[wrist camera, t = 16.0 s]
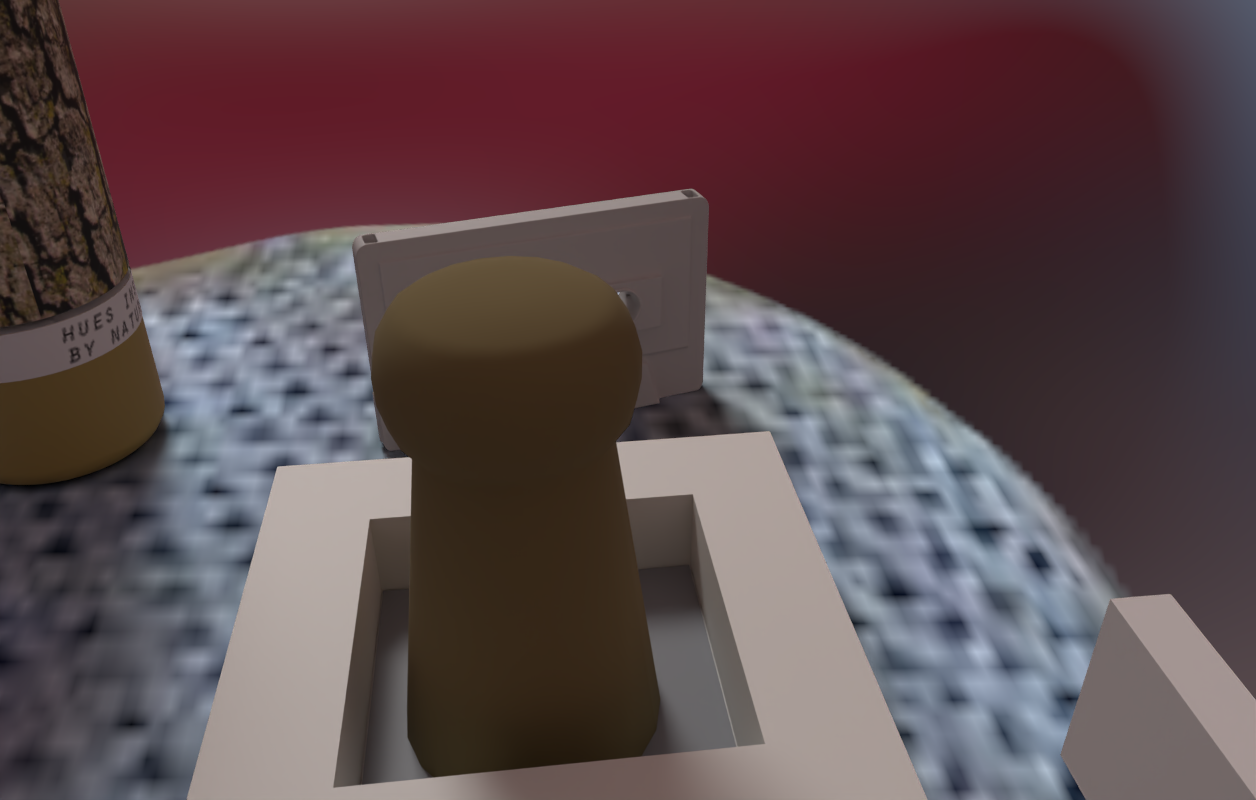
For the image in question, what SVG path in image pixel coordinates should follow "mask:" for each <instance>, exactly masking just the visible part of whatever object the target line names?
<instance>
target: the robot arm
mask: <svg viewBox="0 0 1256 800" xmlns="http://www.w3.org/2000/svg"><path fill="white" fill-rule="evenodd" d="M1060 755H1061V756H1062V758H1063V760H1064V762H1065V764H1066V765H1067V767H1068V769H1069V771H1070V772H1071V774H1072V776H1073V778H1074V779H1075V781H1076V783H1077V785H1078V786H1079V788H1080V790H1081V792H1082V793H1083V795H1084V797H1085V799H1086V800H1256V700H1255V699H1254V697H1253V696H1252V695H1251V694H1250V692H1249V691H1248V690H1247V689H1246V688H1245V686H1244V685H1243V684H1242V682H1241V681H1240V680H1239V679H1238V677H1237V676H1236V675H1235V674H1234V672H1233V671H1232V670H1231V669H1230V667H1229V666H1228V665H1227V664H1226V662H1225V661H1224V660H1223V659H1222V657H1220V655H1219V654H1218V653H1217V651H1216V650H1215V649H1214V648H1213V646H1212V645H1211V644H1210V643H1209V641H1208V640H1207V639H1206V638H1205V636H1204V635H1203V634H1202V633H1201V631H1200V630H1199V629H1198V628H1197V627H1196V625H1195V624H1194V623H1193V621H1192V620H1191V619H1190V618H1189V616H1188V615H1187V614H1186V613H1185V611H1184V610H1183V609H1182V608H1181V606H1180V605H1179V604H1178V603H1177V602H1176V600H1175V599H1174V598H1173V597H1172V595H1171V594H1165V595H1152V596H1142V597H1129V598H1117V599H1110V602H1109V605H1108V608H1107V611H1106V614H1105V617H1104V620H1103V623H1102V626H1101V630H1100V633H1099V636H1098V639H1097V642H1096V645H1095V648H1094V651H1093V655H1092V658H1091V661H1090V664H1089V667H1088V670H1087V673H1086V676H1085V680H1084V683H1083V686H1082V689H1081V692H1080V695H1079V698H1078V701H1077V705H1076V708H1075V711H1074V714H1073V717H1072V720H1071V723H1070V726H1069V729H1068V733H1067V736H1066V739H1065V742H1064V745H1063V748H1062V751H1061V754H1060Z"/></svg>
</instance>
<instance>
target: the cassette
mask: <svg viewBox="0 0 1256 800" xmlns="http://www.w3.org/2000/svg"><path fill="white" fill-rule="evenodd" d="M708 212H709V208H708V202H707V200H706V199H705V198H704V197H703V196H701V195H700V194H699V193H698V192H697V191H695V190H693V189H687V190H680V191H672V192H666V193H658V194H651V195H644V196H637V197H629V198H622V199H615V200H609V201H601V202H593V203H586V204H580V205H573V206H565V207H558V208H550V209H543V210H536V211H530V212H522V213H515V214H508V215H501V216H493V217H486V218H479V219H472V220H465V221H458V222H450V223H443V224H436V225H429V226H421V227H414V228H407V229H400V230H393V231H386V232H378V233H371V234H364V235H359V236H358V237H356V238H355V240H354V242H353V246H352V249H353V257H354V263H355V270H356V277H357V283H358V290H359V297H360V303H361V310H362V317H363V323H364V330H365V337H366V343H367V350H368V356H369V363H370V370H371V366H372V351H373V343H374V335H375V331H376V329H377V327H378V325H379V323H380V321H381V319H382V317H383V316H384V314H385V312H386V310H387V308H388V307H389V305H390V304H391V303H392V301H393V300H394V298H395V297H396V295H397V294H398V293H399V292H401V291H402V290H404V289H405V288H407V287H408V286H410V285H411V284H413V283H414V282H416V281H417V280H419V279H420V278H422V277H424V276H426V275H428V274H430V273H432V272H435V271H437V270H440V269H442V268H445V267H447V266H450V265H452V264H457V263H461V262H466V261H471V260H475V259H480V258H491V257H503V256H522V257H539V258H545V259H550V260H555V261H560V262H564V263H567V264H569V265H572V266H574V267H577V268H579V269H582V270H584V271H587V272H589V273H592V274H594V275H597V276H598V277H600V278H601V279H602V280H603V281H605V282H606V283H607V284H608V285H610V286H611V287H612V288H613V289H614V290H615V291H616V292H620V293H619V297H620V298H621V300H622V301H623V302H624V304H625V305H626V307H627V308H628V310H629V312H630V315H631V317H632V319H633V322H634V324H635V327H636V330H637V334H638V337H639V341H640V345H641V348H642V380H641V384H640V389H639V393H638V397H637V401H636V405H635V408H638V407H643V406H648V405H653V404H658V403H660V401H659V398H662V397H666V396H671V395H676V394H681V393H686V392H691V391H696V390H698V389H699V388H700V387H701V385H702V383H703V359H704V329H705V300H706V271H707V241H708V240H707V239H708ZM373 399H374V405H375V412H376V419H377V425H378V432H379V438H380V441H381V442H383V444H384V446H385V448H386V449H387V450H389V451H395V450H400V448H399V447H398V445H397V444H396V442H395V441H394V439H393V438H392V436H391V435H390V433H389V432H388V430H387V428H386V426H385V424H384V421H383V419H382V417H381V415H380V413H379V411H378V409H377V407H376V403H375V398H374V392H373Z"/></svg>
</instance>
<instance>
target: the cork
mask: <svg viewBox="0 0 1256 800" xmlns="http://www.w3.org/2000/svg"><path fill="white" fill-rule="evenodd" d="M371 380H372V386H373V392H374V398H375V403H376V407H377V409H378V411H379V413H380V415H381V417H382V419H383V421H384V424H385V426H386V428H387V430H388V432H389V433H390V435H391V436H392V438H393V439H394V441H395V442H396V444H397V445H398V447H399V448H400V450H401V451H403V452H404V453H405V454H406V455H407V456H409V457H410V458H411V459H412V475H411V524H410V574H409V624H408V673H407V738H408V740H409V742H410V744H411V746H412V748H413V750H414V752H415V754H416V756H417V758H418V761H419V763H420V765H421V767H422V768H424V769H425V770H426V771H427V772H428V773H429V774H430V775H431V776H432V777H434V778H435V777H444V776H454V775H464V774H474V773H484V772H494V771H504V770H514V769H523V768H533V767H543V766H553V765H563V764H573V763H583V762H593V761H602V760H612V759H622V758H632V757H641V756H642V754H643V752H644V751H645V749H646V747H647V745H648V744H649V742H650V740H651V738H652V737H653V735H654V733H655V731H656V729H657V721H658V714H659V706H660V694H659V688H658V682H657V676H656V671H655V665H654V659H653V653H652V647H651V642H650V636H649V630H648V624H647V618H646V613H645V607H644V601H643V595H642V589H641V584H640V578H639V572H638V566H637V560H636V555H635V549H634V543H633V537H632V531H631V526H630V520H629V514H628V508H627V502H626V497H625V491H624V485H623V479H622V473H621V468H620V462H619V456H618V450H617V444H616V440H617V439H618V438H619V437H620V436H621V434H622V433H623V432H624V431H625V430H626V428H627V427H628V426H629V425H630V422H631V419H632V415H633V412H634V408H635V405H636V401H637V397H638V393H639V389H640V384H641V380H642V348H641V345H640V341H639V337H638V334H637V330H636V327H635V324H634V322H633V319H632V317H631V315H630V312H629V310H628V308H627V307H626V305H625V304H624V302H623V301H622V300H621V298H620V297H619V295H618V294H617V292H616V291H615V290H614V289H613V288H612V287H611V286H610V285H608V284H607V283H606V282H605V281H603V280H602V279H601V278H600V277H598V276H597V275H594V274H592V273H589V272H587V271H584V270H582V269H579V268H577V267H574V266H572V265H569V264H567V263H564V262H560V261H555V260H550V259H545V258H539V257H522V256H503V257H491V258H480V259H475V260H471V261H466V262H461V263H457V264H452V265H450V266H447V267H445V268H442V269H440V270H437V271H435V272H432V273H430V274H428V275H426V276H424V277H422V278H420V279H419V280H417V281H416V282H414V283H413V284H411V285H410V286H408V287H407V288H405V289H404V290H402V291H401V292H399V293H398V294H397V295H396V297H395V298H394V300H393V301H392V303H391V304H390V305H389V307H388V308H387V310H386V312H385V314H384V316H383V317H382V319H381V321H380V323H379V325H378V327H377V329H376V331H375V335H374V343H373V351H372V366H371Z"/></svg>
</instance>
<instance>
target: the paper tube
mask: <svg viewBox="0 0 1256 800" xmlns="http://www.w3.org/2000/svg"><path fill="white" fill-rule="evenodd" d="M164 408H165V404H164V395H163V391H162V388H161V384H160V380H159V376H158V373H157V369H156V365H155V362H154V358H153V354H152V350H151V347H150V343H149V339H148V335H147V332H146V328H145V324H144V321H143V317H142V310H141V306H140V303H139V299H138V295H137V291H136V288H135V284H134V280H133V276H132V273H131V269H130V266H129V262H128V258H127V254H126V251H125V247H124V243H123V239H122V235H121V232H120V228H119V224H118V221H117V217H116V213H115V210H114V206H113V202H112V198H111V195H110V191H109V188H108V183H107V180H106V176H105V172H104V169H103V164H102V161H101V157H100V153H99V150H98V146H97V142H96V138H95V135H94V131H93V127H92V124H91V120H90V116H89V112H88V108H87V105H86V101H85V97H84V94H83V90H82V86H81V82H80V79H79V75H78V71H77V68H76V64H75V60H74V56H73V53H72V49H71V45H70V41H69V38H68V34H67V30H66V26H65V23H64V19H63V15H62V11H61V8H60V4H59V0H0V483H2V484H11V485H37V484H47V483H54V482H60V481H65V480H69V479H73V478H77V477H81V476H84V475H87V474H90V473H93V472H95V471H98V470H101V469H103V468H105V467H108V466H110V465H112V464H114V463H116V462H118V461H119V460H121V459H123V458H125V457H126V456H128V455H129V454H131V453H132V452H134V451H135V450H137V449H138V448H139V447H140V446H142V445H143V444H144V443H145V442H146V441H147V440H148V439H149V438H150V437H151V436H152V435H153V433H154V432H155V431H156V429H157V427H158V425H159V423H160V421H161V418H162V416H163V413H164Z"/></svg>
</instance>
